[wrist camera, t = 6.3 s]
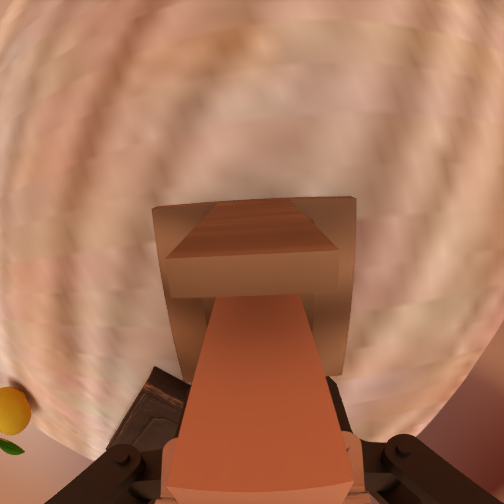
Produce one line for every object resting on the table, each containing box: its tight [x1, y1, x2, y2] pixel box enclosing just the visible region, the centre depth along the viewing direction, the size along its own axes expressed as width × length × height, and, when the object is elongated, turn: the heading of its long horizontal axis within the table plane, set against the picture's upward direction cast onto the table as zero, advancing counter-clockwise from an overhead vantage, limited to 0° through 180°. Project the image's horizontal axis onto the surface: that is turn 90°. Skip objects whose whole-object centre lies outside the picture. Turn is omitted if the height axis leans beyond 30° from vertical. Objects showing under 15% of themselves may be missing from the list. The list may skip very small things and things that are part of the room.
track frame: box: [152, 196, 356, 382], centre depth 14 cm, size 13×12×11 cm
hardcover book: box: [106, 367, 191, 452], centre depth 24 cm, size 16×23×2 cm
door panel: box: [166, 293, 354, 504], centre depth 8 cm, size 8×3×8 cm, turn 3°
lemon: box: [0, 387, 31, 455], centre depth 19 cm, size 7×6×10 cm
